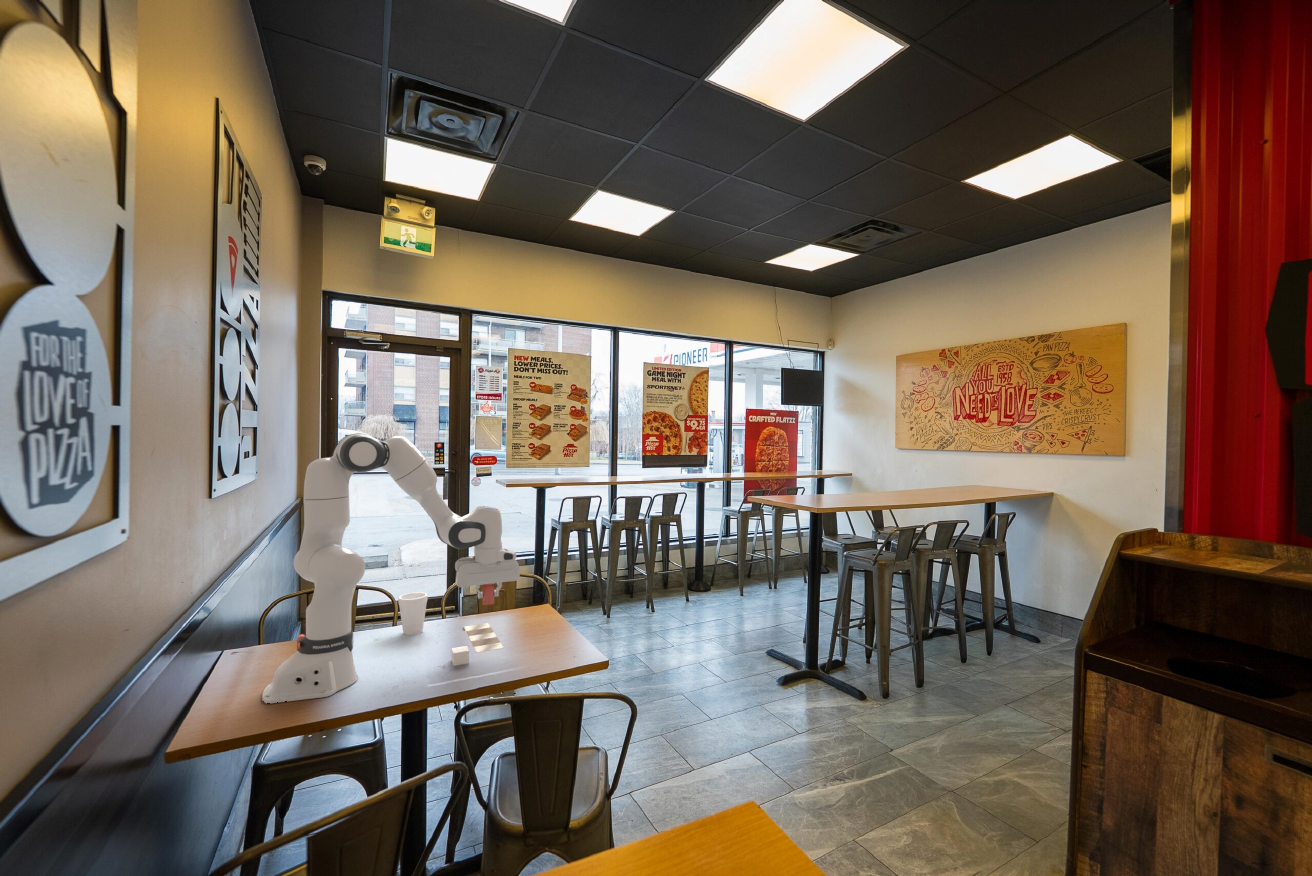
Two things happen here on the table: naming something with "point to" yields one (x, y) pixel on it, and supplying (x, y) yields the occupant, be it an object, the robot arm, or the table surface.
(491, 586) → the red bottle
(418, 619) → the foam cup
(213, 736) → the table surface
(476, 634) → the board
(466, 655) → the white cube
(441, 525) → the robot arm
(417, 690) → the table surface
